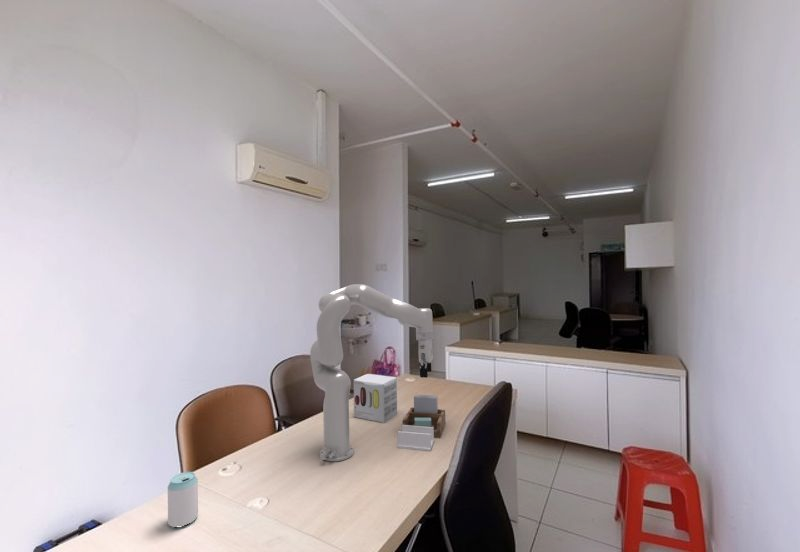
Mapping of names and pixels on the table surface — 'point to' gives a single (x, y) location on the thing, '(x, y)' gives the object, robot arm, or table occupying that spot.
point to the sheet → (426, 404)
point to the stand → (416, 438)
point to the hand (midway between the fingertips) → (425, 374)
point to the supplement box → (375, 397)
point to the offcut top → (423, 422)
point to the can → (182, 499)
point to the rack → (436, 419)
